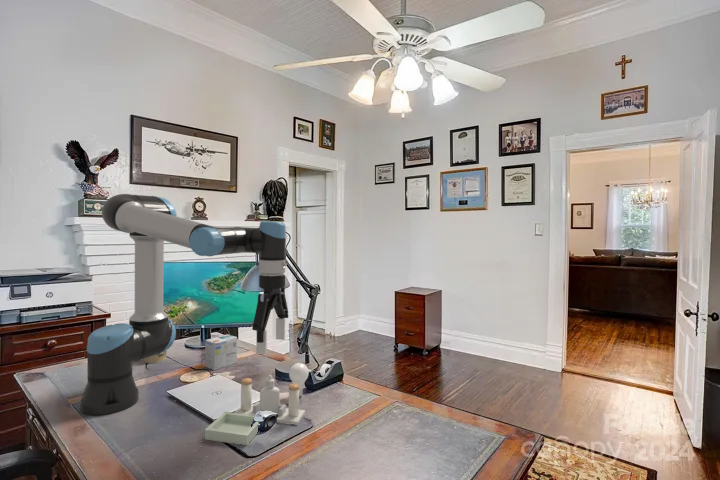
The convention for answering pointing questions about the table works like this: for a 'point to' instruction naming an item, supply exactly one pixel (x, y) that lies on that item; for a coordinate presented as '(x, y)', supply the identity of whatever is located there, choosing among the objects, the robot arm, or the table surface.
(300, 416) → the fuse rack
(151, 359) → the coffee cup
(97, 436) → the table surface
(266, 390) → the eye dropper bottle
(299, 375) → the lightbulb
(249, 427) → the tray
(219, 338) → the light bulb box
